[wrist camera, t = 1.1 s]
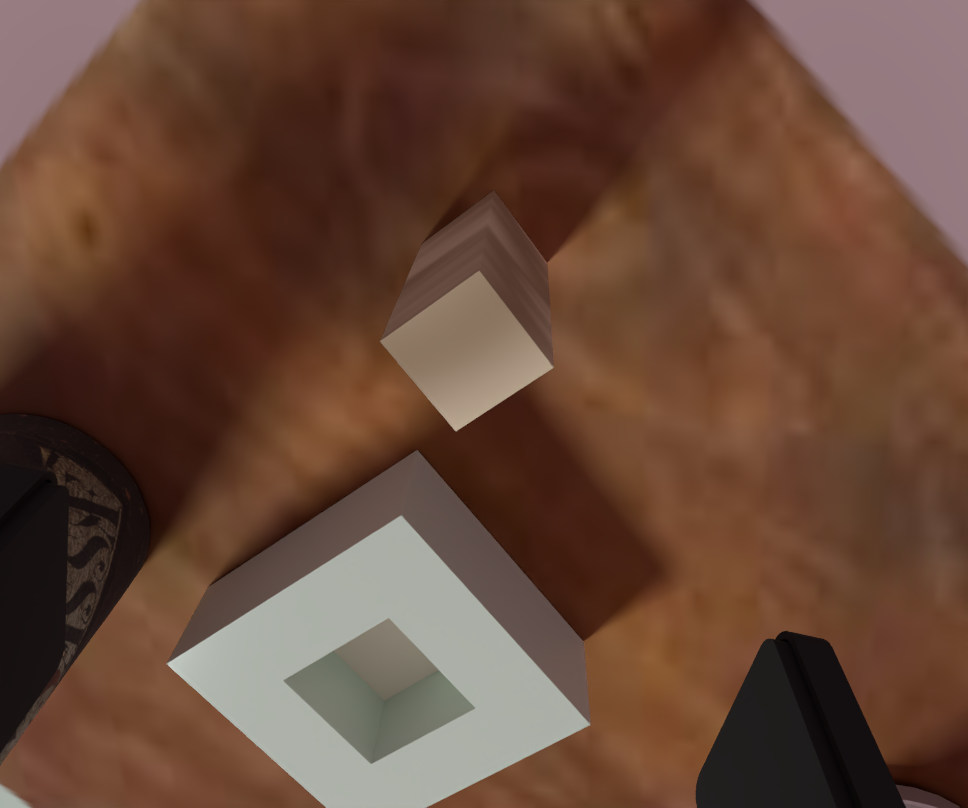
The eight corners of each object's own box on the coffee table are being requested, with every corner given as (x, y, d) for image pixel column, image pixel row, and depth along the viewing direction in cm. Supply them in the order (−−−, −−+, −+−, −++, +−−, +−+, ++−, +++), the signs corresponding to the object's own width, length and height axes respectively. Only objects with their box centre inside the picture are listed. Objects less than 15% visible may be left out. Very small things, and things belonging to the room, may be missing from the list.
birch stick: (547, 263, 29) (553, 367, 21) (475, 312, 30) (455, 431, 22) (493, 190, 28) (479, 270, 20) (421, 243, 29) (379, 341, 21)
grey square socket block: (583, 641, 36) (590, 724, 32) (379, 751, 39) (361, 839, 35) (417, 449, 33) (401, 515, 29) (207, 587, 36) (166, 664, 32)
